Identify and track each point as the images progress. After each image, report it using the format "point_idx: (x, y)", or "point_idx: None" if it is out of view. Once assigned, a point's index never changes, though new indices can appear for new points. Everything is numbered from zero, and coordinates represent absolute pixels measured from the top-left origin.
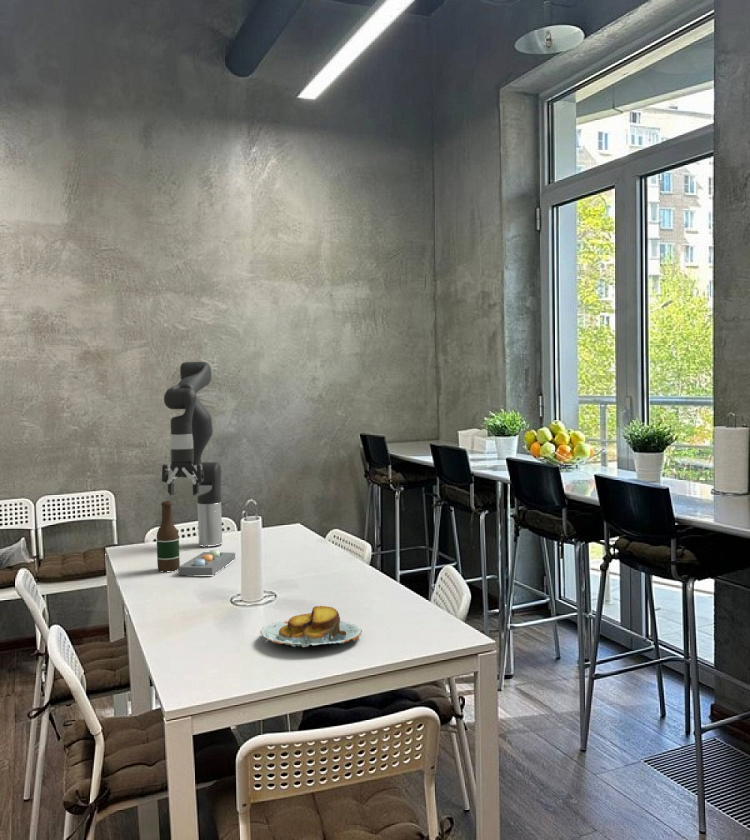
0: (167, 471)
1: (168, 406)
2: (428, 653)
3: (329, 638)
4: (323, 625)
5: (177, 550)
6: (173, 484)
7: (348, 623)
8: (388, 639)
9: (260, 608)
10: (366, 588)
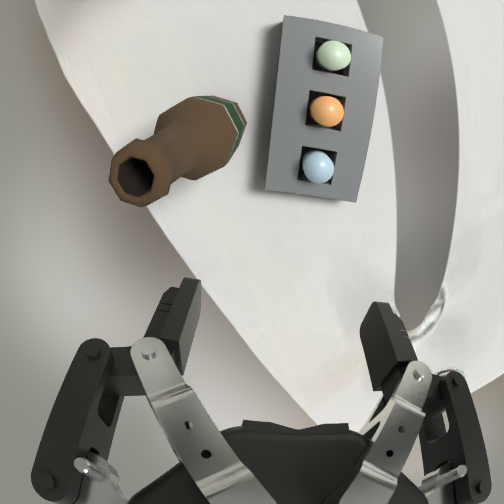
0: (93, 445)
1: None
2: (474, 390)
3: None
4: None
5: (239, 136)
6: (182, 341)
7: (462, 374)
8: (470, 381)
9: (414, 348)
10: None
